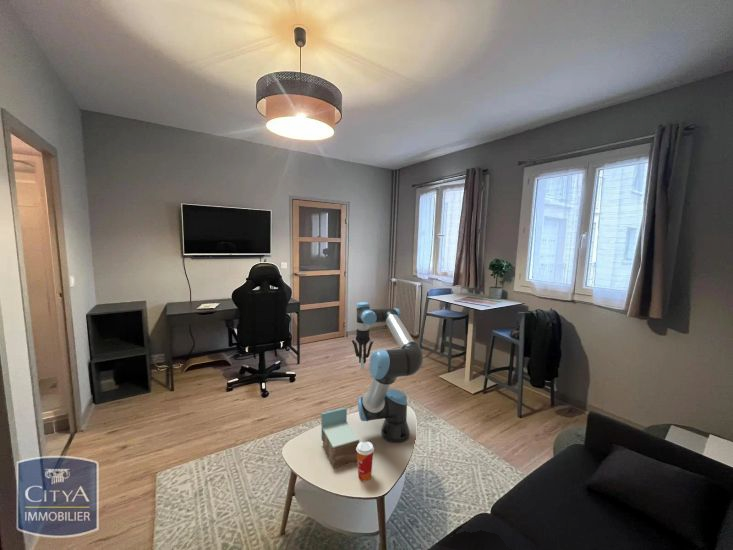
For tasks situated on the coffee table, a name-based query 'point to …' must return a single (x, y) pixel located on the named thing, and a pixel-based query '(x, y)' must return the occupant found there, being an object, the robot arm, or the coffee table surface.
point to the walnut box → (340, 453)
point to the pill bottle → (364, 460)
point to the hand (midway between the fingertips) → (362, 368)
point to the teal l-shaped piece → (337, 428)
